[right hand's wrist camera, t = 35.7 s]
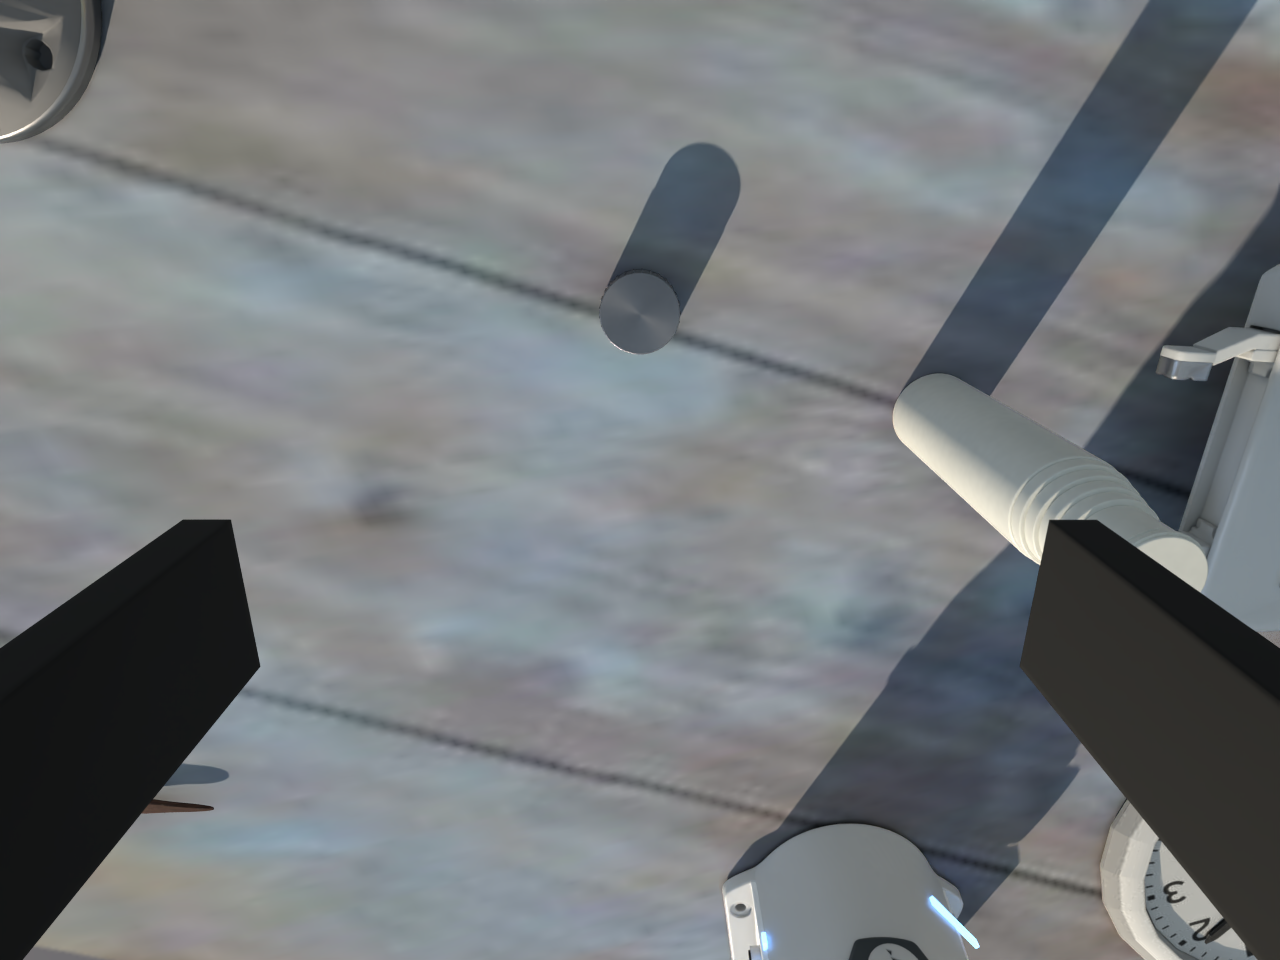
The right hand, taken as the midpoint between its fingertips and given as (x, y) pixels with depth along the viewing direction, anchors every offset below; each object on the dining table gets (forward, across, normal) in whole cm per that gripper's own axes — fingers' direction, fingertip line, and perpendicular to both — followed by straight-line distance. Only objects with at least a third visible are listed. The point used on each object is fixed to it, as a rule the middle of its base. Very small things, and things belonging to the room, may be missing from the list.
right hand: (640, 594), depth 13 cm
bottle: (+35, +18, -6) cm, 40 cm away
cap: (+33, 0, 0) cm, 33 cm away
